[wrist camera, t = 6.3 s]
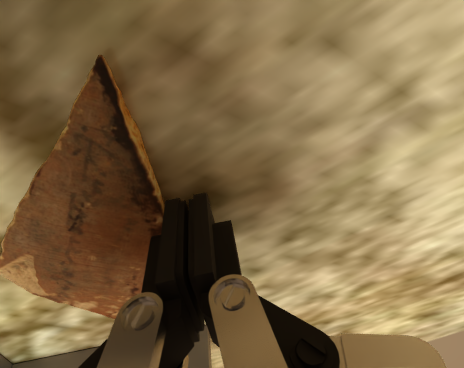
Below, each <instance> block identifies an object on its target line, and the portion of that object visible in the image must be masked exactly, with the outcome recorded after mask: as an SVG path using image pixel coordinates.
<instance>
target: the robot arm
mask: <svg viewBox="0 0 464 368" xmlns="http://www.w3.org/2000/svg"><path fill="white" fill-rule="evenodd" d="M204 320H205V323H206V325H207V328H208V330H209V333H210V336H211V338H212V341H213V343H214V344H216V345H217V346H218V347H220V351H221V355H222V360H223V364H224V368H447V367H446V365H445V363H444V360H443V359H442V357H441V356H440V354H439V353H438V351H437V350H436V349H435V348H434V347H432V346H431V345H430V344H429V343H428V342H426V341H424V340H422V339H420V338H418V337H413V336H407V335H379V334H350V333H341V335H340V336H327V335H326V334H325V333H323V332H322V331H320V330H319V329H317V328H315V327H313V326H312V325H310V324H308V323H306V322H304V321H303V320H301V319H299V318H297V317H296V316H294V315H292V314H290V313H289V312H287V311H285V310H283V309H281V308H280V307H278V306H276V305H274V304H273V303H271V302H269V301H267V300H266V299H264V298H262V297H260V296H258V295H257V292H256V290H255V287H254V285H253V284H252V282H251V281H250V280H249V279H248V278H246V277H244V276H242V274H241V269H240V264H239V258H238V253H237V248H236V243H235V238H234V233H233V228H232V224H231V220H230V221H225V222H220V223H215V222H214V218H213V215H212V211H211V207H210V203H209V199H208V195H207V193H201V194H196V195H193V199H189V210H188V207H187V204H186V201H181V200H180V198H176V199H172V200H167V201H165V207H164V215H163V223H162V230H161V235H156V236H152V237H151V239H150V244H149V250H148V256H147V262H146V267H145V273H144V279H143V285H142V291H141V293H140V294H137V295H135V296H133V297H132V298H130V299H129V300H128V301H126V302H125V303H124V305H123V306H122V307H121V308H120V310H119V312H118V314H117V316H116V319H115V321H114V324H113V327H112V329H111V332H110V334H109V337H108V339H107V340H106V341H105V342H104V343H103V344H102V345H101V346H100V347H98V348H97V349H96V350H95V351H94V352H93V353H92V354H91V355H90V356H89V357H88V358H87V359H86V360H85V361H84V362H83V363H82V364H81V365H80V366H79V367H78V368H188V363H189V356H188V354H189V352H190V351H191V350H192V349H193V347H194V342H199V341H200V334H199V332H200V331H204Z"/></svg>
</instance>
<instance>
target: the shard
mask: <svg viewBox="0 0 464 368" xmlns="http://www.w3.org/2000/svg"><path fill="white" fill-rule="evenodd" d="M164 207H165V206H164V203H163V200H162V196H161V192H160V189H159V186H158V182H157V181H156V179H155V175H154V172H153V169H152V167H151V165H150V161H149V158H148V155H147V153H146V151H145V148H144V144H143V141H142V138H141V133H140V131H139V129H138V127H137V125H136V123H135V121H134V120H133V119H132V117H131V115H130V112H129V111H128V109H127V108H126V106H125V103H124V100H123V98H122V93H121V91H120V89H119V88H118V87H117V85H116V82H115V80H114V77H113V75H112V72H111V69H110V67H109V66H108V64H107V62H106V61H105V59H104V57H103V56H102V55H98V57H97V59H96V62H95V65H94V66H93V68H92V69H91V71H90V72H89V74H88V78H87V81H86V83H85V85H84V86H83V88H82V89H81V91H80V93H79V95H78V97H77V99H76V100H75V102H74V104H73V107H72V110H71V113H70V116H69V119H68V122H67V126H66V127H65V129H64V130H63V131H62V133H61V136H60V137H59V139H58V141H57V143H56V145H55V147H54V149H53V150H52V152H51V154H50V155H49V157H48V159H47V161H45V162H44V163H43V164H42V166H41V167H40V168H39V169H38V171H37V172H36V174H35V176H34V178H33V180H32V182H31V184H30V187H29V189H28V191H27V193H26V195H25V196H24V197H23V199H22V200H21V201H20V203H19V205H18V207H17V209H16V211H15V212H14V219H13V220H12V222H11V223H10V224H9V226H8V227H7V231H6V234H5V237H4V239H3V240H2V243H1V246H2V249H3V251H2V254H1V255H0V275H1V276H3V277H5V278H6V279H8V280H10V281H12V282H13V283H15V284H17V285H18V286H20V287H22V288H24V289H25V290H26V291H29V292H31V293H32V294H34V295H37V296H41V297H45V298H47V299H50V300H53V301H55V302H58V303H66V304H69V305H71V306H74V307H78V308H81V309H84V310H88V311H91V312H95V313H98V314H102V315H105V316H107V317H110V318H113V319H116V316H117V314H118V312H119V310H120V308H121V307H122V306H123V305H124V303H125V302H126V301H128V300H129V299H130V298H132V297H133V296H135V295H137V294H140V293H141V291H142V285H143V279H144V273H145V267H146V262H147V256H148V250H149V244H150V239H151V237H152V236H156V235H161V230H162V223H163V215H164Z"/></svg>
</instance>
